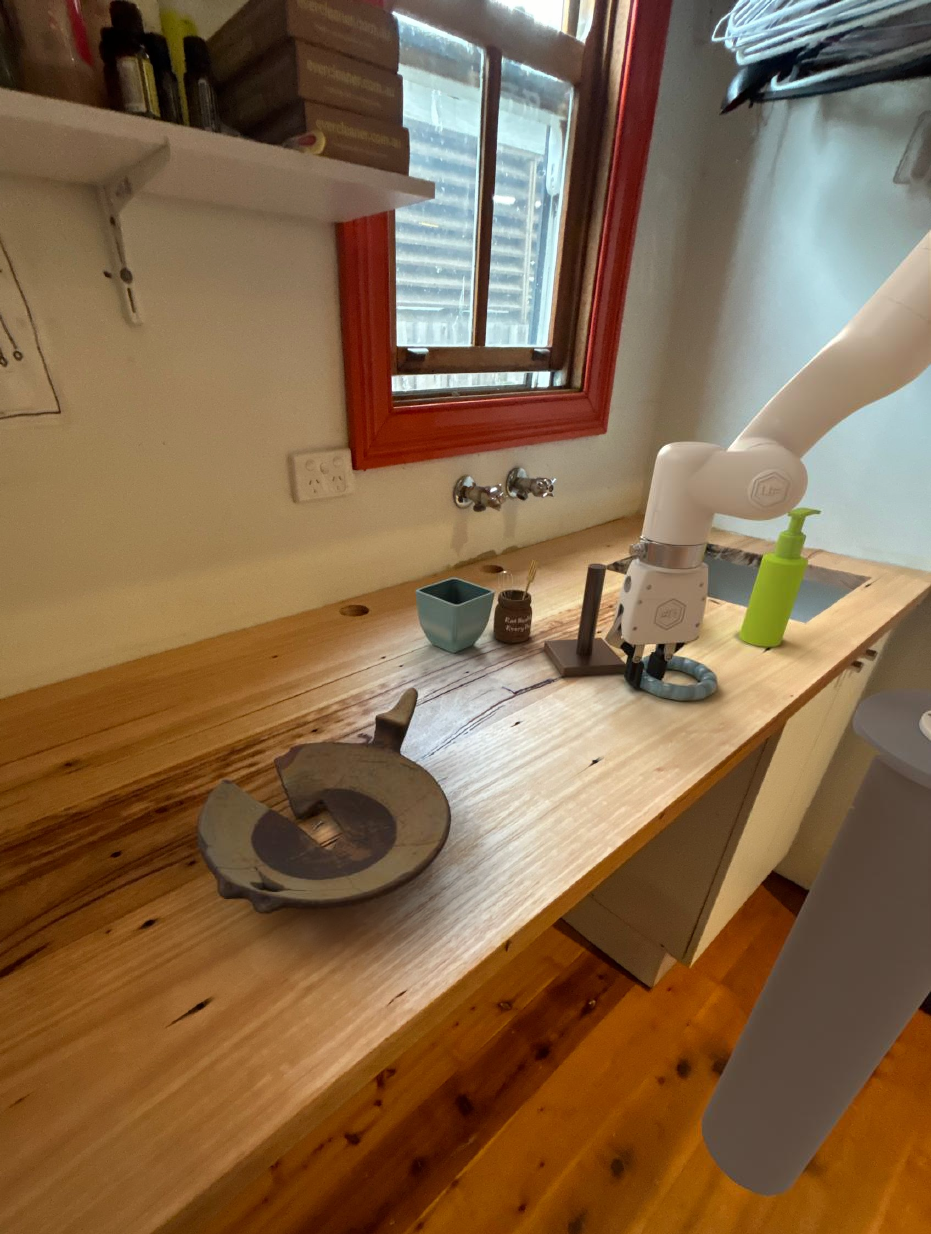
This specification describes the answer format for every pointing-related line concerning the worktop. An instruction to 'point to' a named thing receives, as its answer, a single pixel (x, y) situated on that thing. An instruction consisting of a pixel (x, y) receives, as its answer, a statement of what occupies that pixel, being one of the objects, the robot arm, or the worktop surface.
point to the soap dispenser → (777, 585)
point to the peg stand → (586, 637)
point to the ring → (678, 691)
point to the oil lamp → (358, 802)
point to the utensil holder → (514, 612)
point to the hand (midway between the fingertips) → (642, 682)
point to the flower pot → (454, 612)
